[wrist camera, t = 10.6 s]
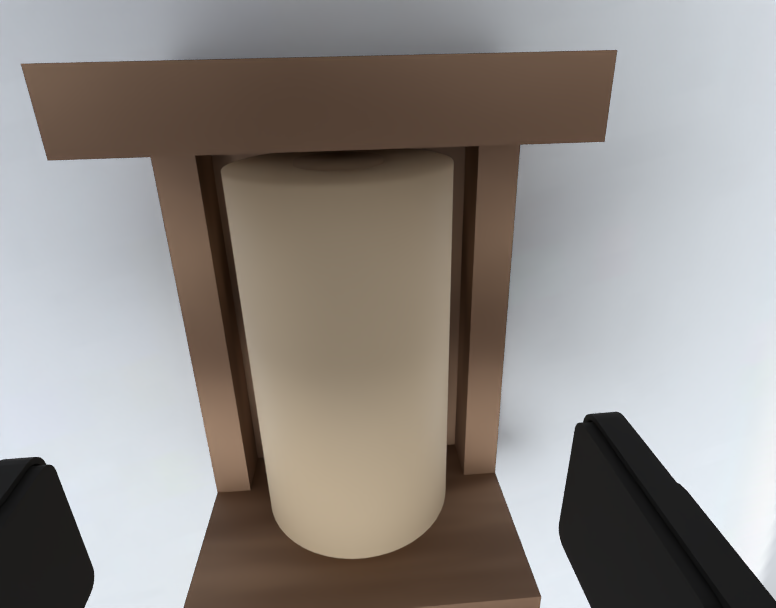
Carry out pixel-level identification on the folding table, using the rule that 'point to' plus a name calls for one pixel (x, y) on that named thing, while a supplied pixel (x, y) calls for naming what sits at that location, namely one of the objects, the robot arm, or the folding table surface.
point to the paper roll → (347, 338)
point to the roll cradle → (221, 293)
